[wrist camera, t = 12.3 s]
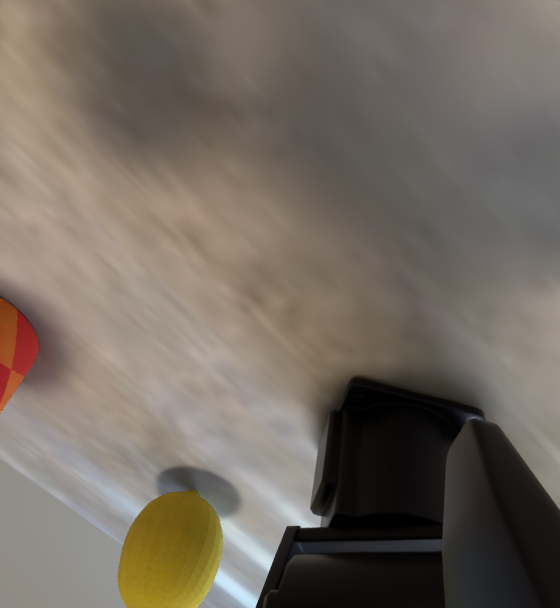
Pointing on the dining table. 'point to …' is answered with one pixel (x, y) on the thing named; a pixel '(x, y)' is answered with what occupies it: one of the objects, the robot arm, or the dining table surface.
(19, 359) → the paper cup
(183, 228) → the dining table surface
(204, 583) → the lemon
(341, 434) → the robot arm
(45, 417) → the dining table surface
